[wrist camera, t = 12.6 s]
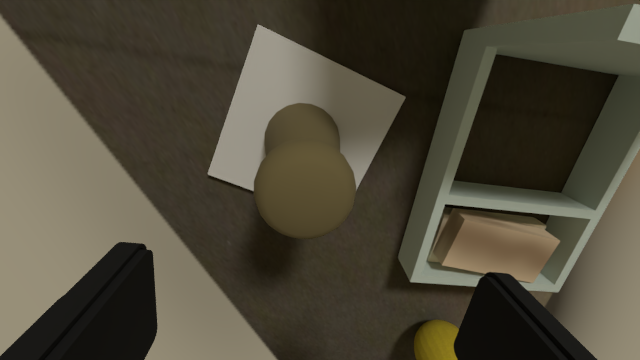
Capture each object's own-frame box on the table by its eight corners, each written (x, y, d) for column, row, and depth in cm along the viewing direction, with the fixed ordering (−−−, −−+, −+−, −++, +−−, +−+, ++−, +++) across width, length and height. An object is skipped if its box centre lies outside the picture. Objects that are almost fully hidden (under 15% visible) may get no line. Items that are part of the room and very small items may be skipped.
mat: (338, 219, 27) (339, 222, 27) (208, 172, 25) (207, 174, 24) (404, 96, 23) (406, 96, 23) (258, 24, 21) (258, 24, 20)
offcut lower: (509, 256, 31) (524, 269, 29) (419, 247, 30) (428, 261, 28) (529, 214, 29) (546, 225, 27) (434, 203, 28) (444, 214, 26)
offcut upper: (518, 268, 29) (533, 283, 27) (432, 251, 27) (441, 265, 26) (542, 228, 27) (560, 241, 25) (453, 208, 26) (465, 219, 24)
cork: (258, 168, 24) (230, 247, 14) (271, 94, 22) (251, 126, 12) (329, 182, 25) (350, 267, 15) (348, 113, 23) (388, 157, 13)
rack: (531, 267, 31) (660, 384, 20) (397, 257, 29) (458, 378, 18) (635, 60, 24) (931, 65, 13) (464, 30, 22) (633, 3, 11)
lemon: (397, 314, 32) (426, 390, 25) (446, 296, 32) (490, 368, 25) (412, 346, 35) (443, 425, 27) (457, 329, 34) (502, 405, 27)
